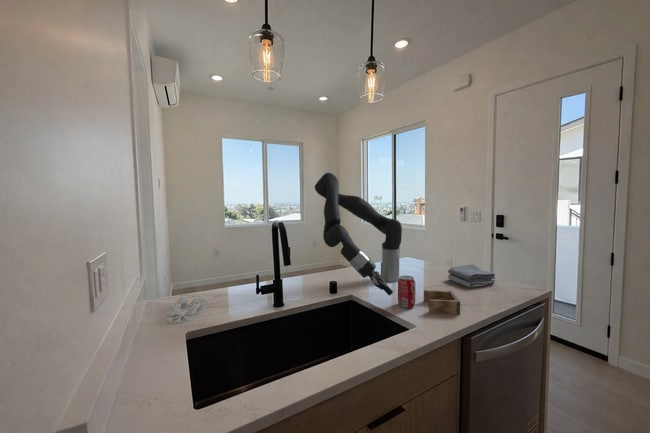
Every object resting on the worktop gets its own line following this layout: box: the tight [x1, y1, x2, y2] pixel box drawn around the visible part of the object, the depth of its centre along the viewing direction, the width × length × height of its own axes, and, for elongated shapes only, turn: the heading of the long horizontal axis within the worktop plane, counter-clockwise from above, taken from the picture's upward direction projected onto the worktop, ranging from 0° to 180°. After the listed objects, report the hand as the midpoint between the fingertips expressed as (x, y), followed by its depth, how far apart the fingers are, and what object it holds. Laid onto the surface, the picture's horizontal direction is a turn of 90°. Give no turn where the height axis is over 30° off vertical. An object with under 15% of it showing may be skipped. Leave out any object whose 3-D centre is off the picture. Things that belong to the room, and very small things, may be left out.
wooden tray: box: [423, 289, 461, 315], centre depth 113 cm, size 11×12×5 cm
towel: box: [447, 263, 496, 289], centre depth 145 cm, size 15×18×8 cm
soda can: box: [397, 275, 417, 309], centre depth 115 cm, size 7×7×12 cm
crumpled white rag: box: [163, 296, 210, 325], centre depth 110 cm, size 19×14×4 cm
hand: (391, 293), depth 116 cm, fingers closed
